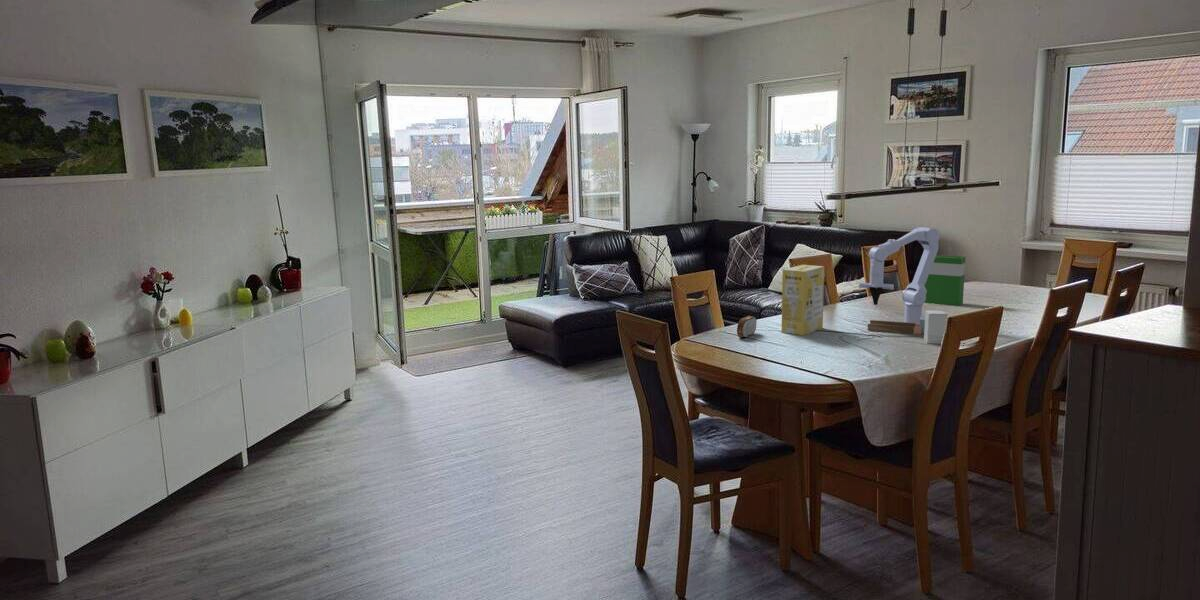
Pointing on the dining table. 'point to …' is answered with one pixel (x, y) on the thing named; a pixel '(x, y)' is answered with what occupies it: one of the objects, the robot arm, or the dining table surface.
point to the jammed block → (922, 324)
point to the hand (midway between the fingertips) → (875, 304)
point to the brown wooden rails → (894, 327)
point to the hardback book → (946, 280)
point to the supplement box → (934, 326)
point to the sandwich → (746, 326)
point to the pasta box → (802, 299)
